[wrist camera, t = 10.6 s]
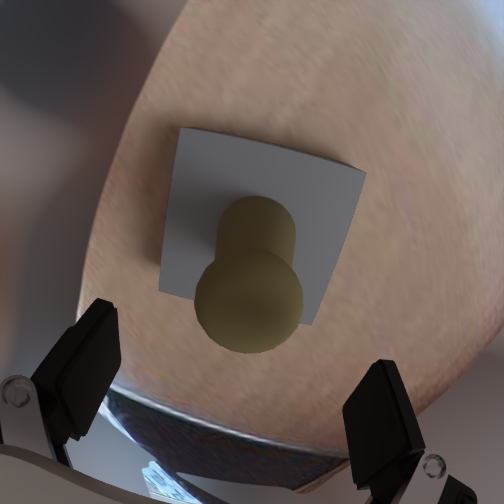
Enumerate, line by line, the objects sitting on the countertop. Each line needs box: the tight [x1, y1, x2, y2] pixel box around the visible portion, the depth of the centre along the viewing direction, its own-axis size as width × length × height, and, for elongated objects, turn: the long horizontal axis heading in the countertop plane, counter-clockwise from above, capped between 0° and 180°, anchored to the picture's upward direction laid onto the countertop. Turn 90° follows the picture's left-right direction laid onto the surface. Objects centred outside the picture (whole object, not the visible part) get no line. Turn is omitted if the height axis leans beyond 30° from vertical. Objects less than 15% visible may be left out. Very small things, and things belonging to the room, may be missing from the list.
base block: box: [159, 127, 367, 325], centre depth 24 cm, size 14×14×4 cm
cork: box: [194, 196, 304, 353], centre depth 17 cm, size 6×6×11 cm
